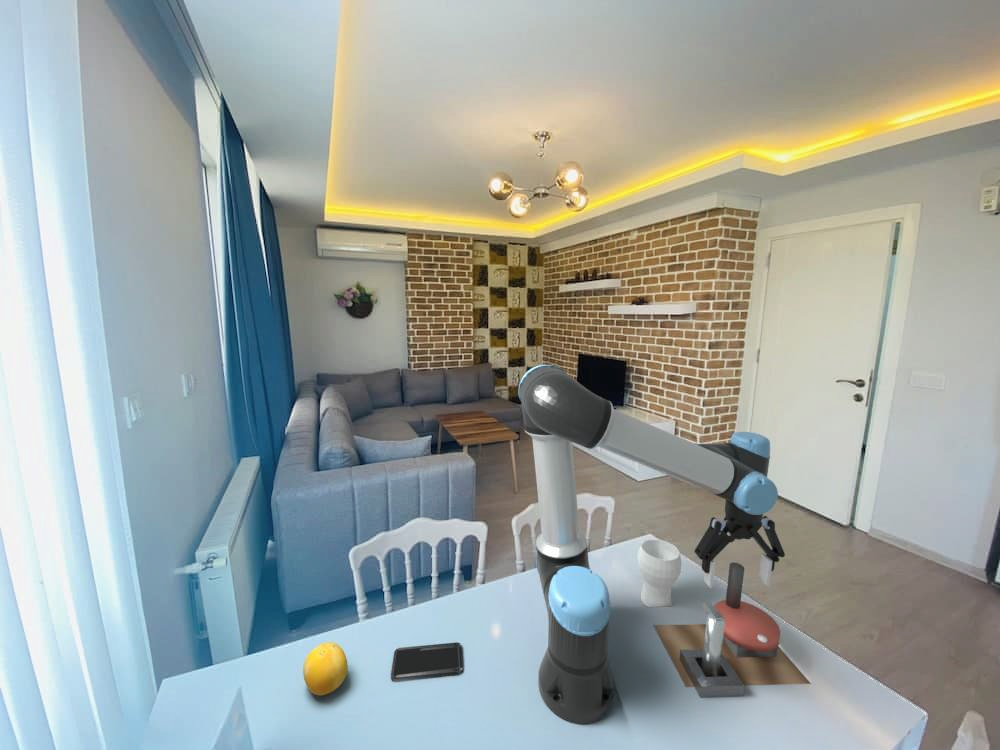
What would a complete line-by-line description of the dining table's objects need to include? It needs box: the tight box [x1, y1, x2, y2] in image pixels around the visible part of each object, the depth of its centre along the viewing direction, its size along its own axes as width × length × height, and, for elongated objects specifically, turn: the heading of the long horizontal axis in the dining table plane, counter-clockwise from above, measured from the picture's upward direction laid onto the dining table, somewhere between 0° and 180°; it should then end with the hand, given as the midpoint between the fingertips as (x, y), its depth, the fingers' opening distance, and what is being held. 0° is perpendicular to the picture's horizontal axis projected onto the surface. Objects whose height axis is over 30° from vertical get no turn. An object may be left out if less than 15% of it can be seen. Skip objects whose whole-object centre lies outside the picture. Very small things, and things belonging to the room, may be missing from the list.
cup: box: [637, 538, 683, 608], centre depth 106 cm, size 11×11×15 cm
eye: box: [679, 649, 745, 698], centre depth 83 cm, size 9×9×2 cm
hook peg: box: [701, 601, 725, 677], centre depth 83 cm, size 3×5×15 cm, turn 2°
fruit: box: [302, 641, 349, 696], centre depth 82 cm, size 9×8×8 cm
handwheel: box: [714, 561, 781, 652], centre depth 91 cm, size 13×13×12 cm
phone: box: [390, 641, 464, 683], centre depth 88 cm, size 8×1×15 cm
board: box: [653, 623, 811, 688], centre depth 90 cm, size 26×16×4 cm, turn 92°
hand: (736, 583), depth 96 cm, fingers open, 13 cm apart
